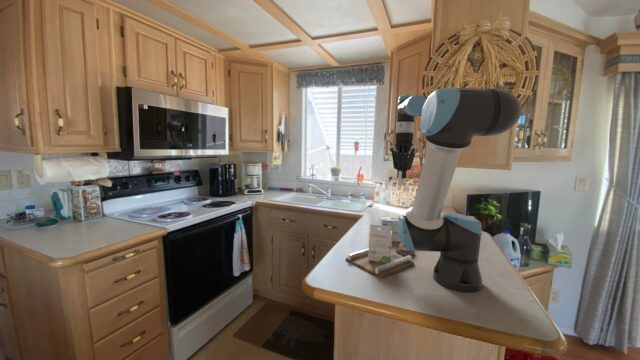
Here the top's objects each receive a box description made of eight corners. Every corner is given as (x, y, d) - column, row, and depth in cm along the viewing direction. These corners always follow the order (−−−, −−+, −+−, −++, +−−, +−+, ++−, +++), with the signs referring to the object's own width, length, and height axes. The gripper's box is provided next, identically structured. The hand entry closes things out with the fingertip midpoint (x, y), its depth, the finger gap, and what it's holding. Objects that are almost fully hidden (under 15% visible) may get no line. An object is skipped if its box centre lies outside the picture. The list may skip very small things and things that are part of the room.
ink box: (391, 259, 106) (393, 223, 104) (390, 264, 101) (392, 226, 99) (369, 255, 109) (371, 220, 107) (367, 260, 104) (369, 224, 102)
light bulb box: (400, 237, 135) (401, 217, 134) (402, 242, 128) (404, 221, 127) (378, 236, 136) (380, 216, 135) (380, 241, 129) (381, 219, 128)
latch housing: (414, 253, 114) (414, 250, 114) (406, 256, 111) (407, 253, 111) (403, 249, 119) (403, 246, 119) (396, 252, 116) (396, 249, 115)
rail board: (414, 264, 104) (414, 262, 104) (380, 278, 92) (380, 275, 92) (378, 249, 118) (378, 247, 118) (345, 260, 106) (345, 257, 106)
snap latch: (412, 249, 114) (412, 245, 114) (406, 251, 112) (407, 247, 112) (404, 246, 118) (404, 242, 117) (398, 248, 115) (399, 244, 115)
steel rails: (411, 260, 105) (411, 256, 104) (377, 274, 93) (378, 268, 92) (381, 248, 117) (381, 244, 116) (348, 259, 105) (348, 254, 104)
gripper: (387, 132, 119) (384, 183, 122) (412, 131, 108) (408, 188, 111) (397, 132, 123) (394, 182, 126) (422, 132, 113) (418, 186, 116)
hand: (400, 185), depth 119 cm, fingers closed
